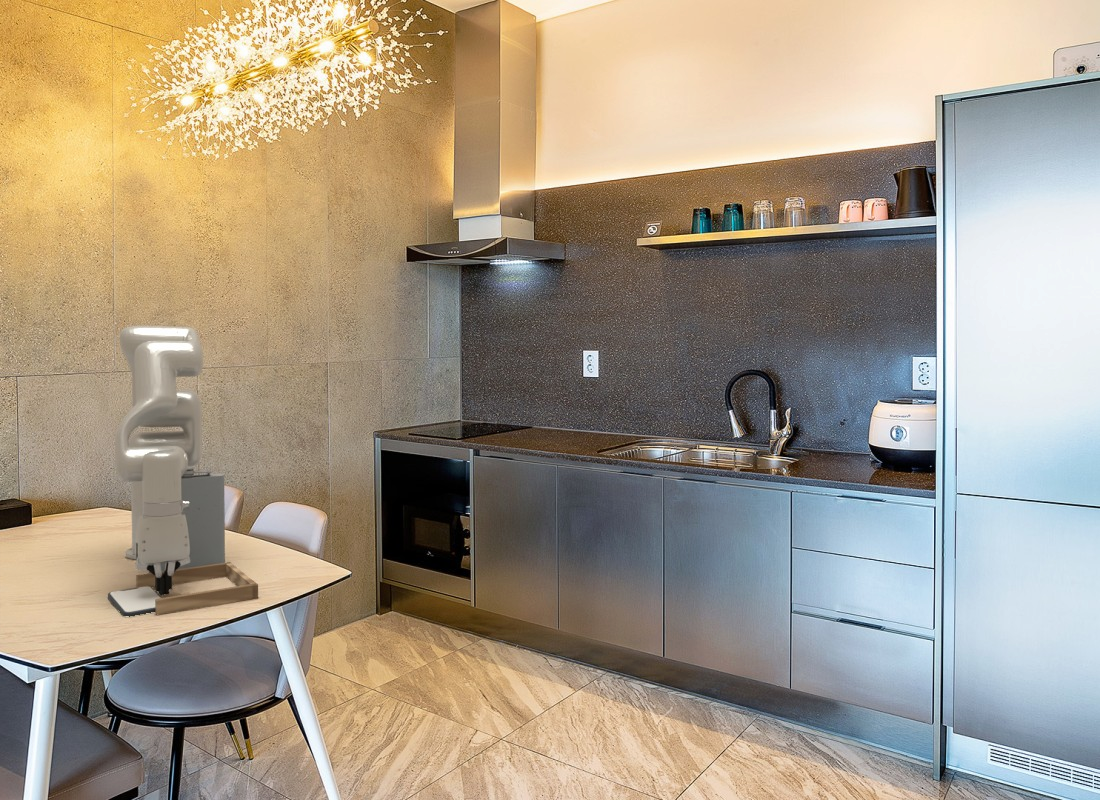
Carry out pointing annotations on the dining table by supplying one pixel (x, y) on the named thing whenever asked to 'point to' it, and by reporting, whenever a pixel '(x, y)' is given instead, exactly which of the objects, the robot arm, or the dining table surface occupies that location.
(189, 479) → the upright grey panel
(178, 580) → the wooden u-shaped frame
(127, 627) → the dining table surface
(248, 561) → the dining table surface
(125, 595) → the smartphone
